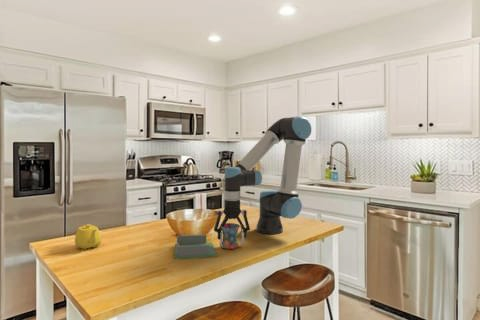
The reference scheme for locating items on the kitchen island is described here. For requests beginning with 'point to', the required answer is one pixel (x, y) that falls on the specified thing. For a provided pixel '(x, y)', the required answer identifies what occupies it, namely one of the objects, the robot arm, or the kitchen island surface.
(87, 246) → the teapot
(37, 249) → the kitchen island surface
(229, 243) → the mug
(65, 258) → the kitchen island surface
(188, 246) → the grey stepped block
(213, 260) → the kitchen island surface
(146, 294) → the kitchen island surface
